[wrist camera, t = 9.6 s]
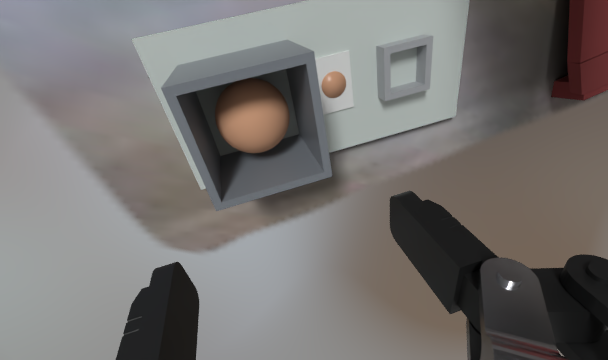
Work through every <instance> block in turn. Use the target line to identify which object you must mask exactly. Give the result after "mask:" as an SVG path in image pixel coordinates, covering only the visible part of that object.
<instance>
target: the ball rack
mask: <svg viewBox="0 0 608 360" xmlns="http://www.w3.org/2000/svg"><path fill="white" fill-rule="evenodd" d="M469 1H470V0H307V1H302V2H298V3H293V4H289V5H284V6H280V7H275V8H270V9H266V10H261V11H257V12H252V13H248V14H243V15H239V16H234V17H229V18H225V19H220V20H216V21H211V22H207V23H202V24H197V25H193V26H188V27H184V28H179V29H175V30H170V31H165V32H161V33H156V34H152V35H147V36H143V37H138V38H134V39H132V41H133V44H134V46H135V48H136V50H137V52H138V54H139V57H140V59H141V61H142V63H143V65H144V67H145V70H146V72H147V74H148V76H149V78H150V80H151V82H152V85H153V87H154V89H155V91H156V93H157V95H158V98H159V100H160V102H161V104H162V106H163V108H164V111H165V113H166V115H167V117H168V119H169V121H170V123H171V126H172V128H173V130H174V132H175V134H176V136H177V139H178V141H179V143H180V145H181V147H182V149H183V152H184V154H185V156H186V158H187V160H188V162H189V164H190V167H191V169H192V171H193V173H194V175H195V177H196V180H197V182H198V184H199V186H200V188H201V190H202V189H207V192H208V194H209V196H210V198H211V201H212V203H213V205H214V207H215V209H216V211H219V210H222V209H225V208H229V207H232V206H235V205H239V204H242V203H245V202H249V201H252V200H255V199H259V198H262V197H265V196H269V195H272V194H275V193H279V192H282V191H285V190H289V189H292V188H295V187H299V186H302V185H305V184H309V183H312V182H315V181H319V180H322V179H325V178H329V177H332V170H331V163H330V157H329V153H330V152H334V151H337V150H341V149H344V148H348V147H351V146H355V145H358V144H362V143H365V142H368V141H372V140H375V139H379V138H382V137H386V136H389V135H393V134H396V133H400V132H403V131H407V130H410V129H414V128H417V127H420V126H424V125H427V124H431V123H434V122H438V121H441V120H445V119H448V118H452V117H455V116H456V109H457V100H458V92H459V84H460V76H461V67H462V59H463V51H464V42H465V34H466V26H467V17H468V9H469ZM247 78H257V79H261V80H264V81H267V82H269V83H271V84H272V85H273V86H275V87H276V88H277V89H278V90H279V91H280V92H281V93H282V95H283V96H284V98H285V100H286V102H287V105H288V108H289V119H290V120H289V126H288V129H287V132H286V134H285V136H284V137H283V139H282V140H281V141H280V142H279V143H278V144H277V145H276V146H275V147H273V148H272V149H270V150H267V151H265V152H261V153H246V152H242V151H240V150H237V149H236V148H234V147H232V146H231V145H229V144H228V143H227V142H226V141H225V140H224V138H223V137H222V136H221V134H220V132H219V130H218V128H217V125H216V120H215V108H216V104H217V101H218V98H219V96H220V95H221V93H222V92H223V91H224V89H225V88H226V87H228V86H229V85H230V84H232V83H233V82H235V81H239V80H243V79H247Z"/></svg>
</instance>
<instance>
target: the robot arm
mask: <svg viewBox="0 0 608 360" xmlns="http://www.w3.org/2000/svg"><path fill="white" fill-rule="evenodd" d="M390 228H391V233H392V235H393V237H394V239H395V241H396V242H397V243H398V245H399V246H400V247H401V249H402V250H403V252H404V253H405V254H406V256H407V257H408V258H409V260H410V261H411V262H412V264H413V265H414V266H415V268H416V269H417V270H418V272H419V273H420V274H421V276H422V277H423V278H424V280H425V281H426V282H427V284H428V285H429V287H430V288H431V289H432V290H433V292H434V293H435V295H436V296H437V297H438V299H439V300H440V301H441V303H442V304H443V305H444V307H445V308H446V309H447V311H448V312H449V313H450V314H452V313H455V312H457V311H460V310H462V312H463V313H464V314H465V315H466V317H467V321H466V324H467V325H466V327H467V357H468V360H608V260H607V259H604V258H601V257H597V256H592V255H576V256H573V257H571V258H570V259H569V260H568V261H567V263H566V264H565V266H564V268H541V269H529V268H528V267H526V266H525V265H523V264H522V263H520V262H517V261H515V260H512V259H508V258H499V257H497V256H496V255H495V254H494V253H493V252H491V251H490V250H489V249H488V248H487V247H486V246H485V245H484V244H483V243H482V242H481V241H480V240H478V239H477V238H476V237H475V236H474V235H473V234H472V233H471V232H470V231H469V230H467V229H466V228H465V227H464V226H463V225H461V224H460V222H458V220H456V219H455V218H454V217H452V215H451V214H450V213H449V212H447V210H445V209H444V208H443V207H442V206H441V205H438V204H436V203H434V202H432V201H430V200H425V201H422V200H421V199H420V198H419V197H418V196H417V195H416V194H415V193H413V192H412V191H407V192H404V193H401V194H398V195H394V196H392V197H391V198H390ZM198 314H199V297H198V293H197V290H196V288H195V286H194V284H193V283H192V281H191V280H190V278H189V276H188V275H187V273H186V272H185V270H184V268H183V267H182V265H181V264H180V263H179V262H175V263H172V264H169V265H165V266H162V267H159V268H156V269H155V270H154V271H153V273H152V277H151V281H150V286H149V287H146V288H143V289H141V291H140V292H139V294H138V295H137V297H136V298H135V300H134V301H133V303H132V305H131V309H130V312H129V315H128V319H127V321H128V323H126V326H125V330H124V336H123V337H122V340H121V343H120V347H119V350H118V354H117V357H116V360H196V348H197V332H198V316H199V315H198ZM557 349H558V350H559V351H560V352H561V353H562V354H563V355H564V356H565V357H563V356H561V355H560V354H559V352H558V350H557Z"/></svg>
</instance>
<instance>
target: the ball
mask: <svg viewBox="0 0 608 360" xmlns="http://www.w3.org/2000/svg"><path fill="white" fill-rule="evenodd" d="M215 120H216V125H217V128H218V130H219V132H220V134H221V136H222V137H223V138H224V140H225V141H226V142H227V143H228V144H229V145H231V146H232V147H234V148H236V149H237V150H240V151H242V152H246V153H261V152H265V151H267V150H270V149H272V148H273V147H275V146H276V145H277V144H278V143H279V142H280V141H281V140H282V139H283V137H284V136H285V134H286V132H287V129H288V126H289V120H290V119H289V108H288V105H287V102H286V100H285V98H284V96H283V95H282V93H281V92H280V91H279V90H278V89H277V88H276V87H275V86H273V85H272V84H271V83H269V82H267V81H264V80H261V79H257V78H247V79H243V80H239V81H235V82H233V83H232V84H230V85H229V86H228V87H226V88H225V89H224V91H223V92H222V93H221V95H220V96H219V98H218V101H217V104H216V108H215Z"/></svg>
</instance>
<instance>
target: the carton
mask: <svg viewBox="0 0 608 360" xmlns="http://www.w3.org/2000/svg"><path fill="white" fill-rule="evenodd" d="M567 64H568V76H565V77H563V78H561V79H558V80H556V81H554V85H553V90H552V96H551V97H557V98H566V99H575V100H586V99H588V98H590V97H593V96H595V95H597V94H599V93H602V92H604V91H606V90H608V0H570V10H569V32H568V54H567Z"/></svg>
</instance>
